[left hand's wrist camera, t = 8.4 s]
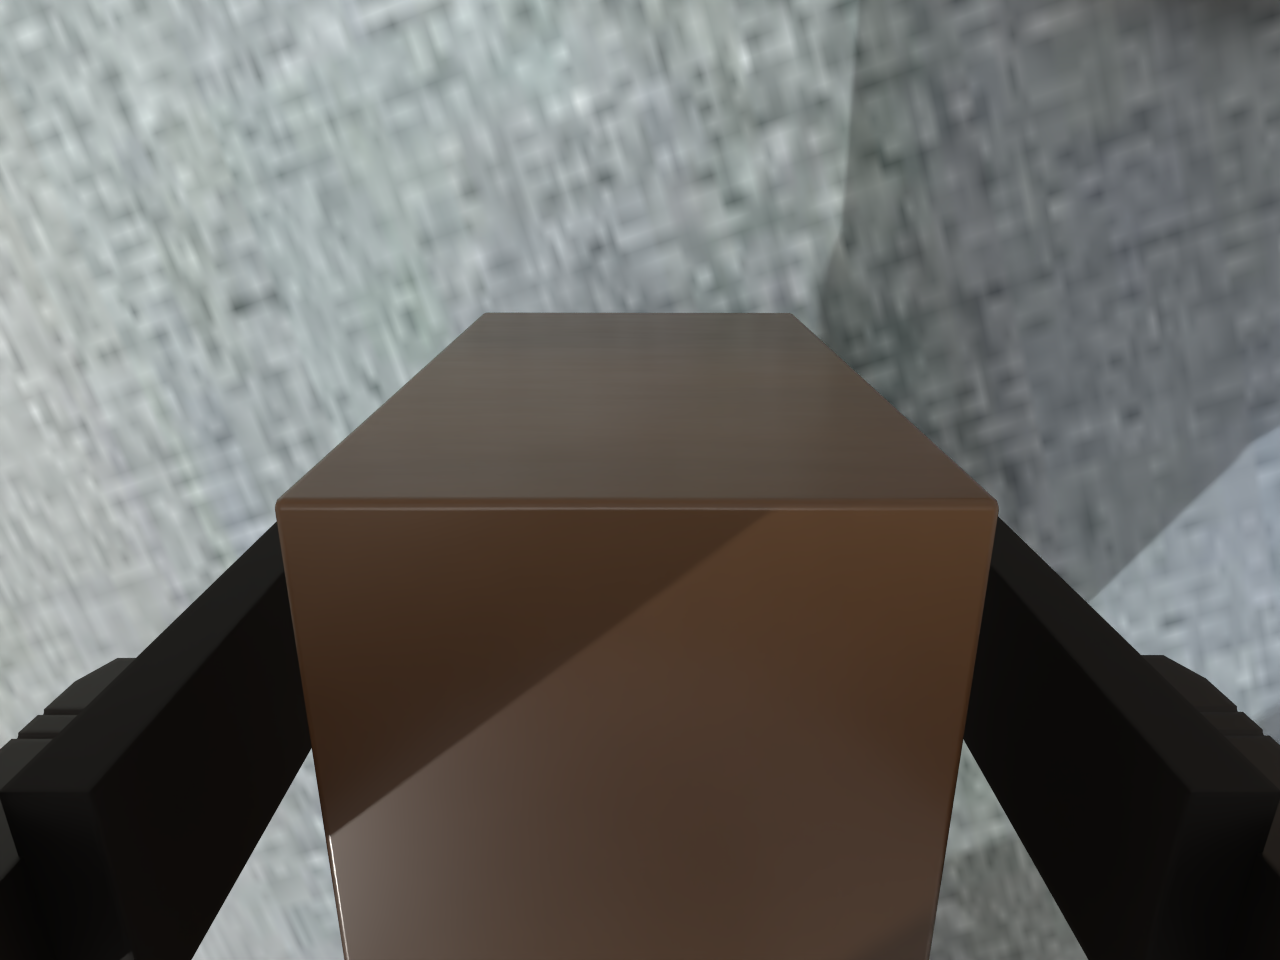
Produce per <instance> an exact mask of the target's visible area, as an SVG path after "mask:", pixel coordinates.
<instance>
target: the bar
mask: <svg viewBox="0 0 1280 960" xmlns="http://www.w3.org/2000/svg"><path fill="white" fill-rule="evenodd" d="M998 511H999V507H998V503H997V500H995V499H994V498H993V497H992V496H991V495H990V494H989V493H988V492H987V491H986V490H985V489H983V488H982V487H981V486H980V485H979V484H978V483H977V482H976V481H975V480H974V479H972V478H971V477H970V476H969V475H968V474H967V473H966V472H965V471H964V470H963V469H961V468H960V467H959V466H958V465H957V464H956V463H955V462H954V461H953V460H952V459H951V458H949V457H948V456H947V455H946V454H945V453H944V452H943V451H942V450H941V449H940V448H938V447H937V446H936V445H935V444H934V443H933V442H932V441H931V440H930V439H929V438H928V437H926V436H925V435H924V434H923V433H922V432H921V431H920V430H919V429H918V428H917V427H915V426H914V425H913V424H912V423H911V422H910V421H909V420H908V419H907V418H906V417H905V416H903V415H902V414H901V413H900V412H899V411H898V410H897V409H896V408H895V407H894V406H892V405H891V404H890V403H889V402H888V401H887V400H886V399H885V398H884V397H883V396H881V395H880V394H879V393H878V392H877V391H876V390H875V389H874V388H873V387H872V386H871V385H869V384H868V383H867V382H866V381H865V380H864V379H863V378H862V377H861V376H860V375H858V374H857V373H856V372H855V371H854V370H853V369H852V368H851V367H850V366H849V365H848V364H846V363H845V362H844V361H843V360H842V359H841V358H840V357H839V356H838V355H837V354H835V353H834V352H833V351H832V350H831V349H830V348H829V347H828V346H827V345H826V344H825V343H823V342H822V341H821V340H820V339H819V338H818V337H817V336H816V335H815V334H814V333H812V332H811V331H810V330H809V329H808V328H807V327H806V326H805V325H804V324H803V323H801V322H800V321H799V320H798V319H797V318H796V317H795V316H794V315H793V314H790V313H485V314H483V315H482V316H481V317H480V318H478V319H477V320H476V321H475V322H474V323H473V324H472V325H471V326H470V327H468V328H467V329H466V330H465V331H464V332H463V333H462V334H461V335H460V336H458V337H457V338H456V339H455V340H454V341H453V342H452V343H451V344H450V345H448V346H447V347H446V348H445V349H444V350H443V351H442V352H441V353H440V354H438V355H437V356H436V357H435V358H434V359H433V360H432V361H431V362H430V363H428V364H427V365H426V366H425V367H424V368H423V369H422V370H421V371H420V372H418V373H417V374H416V375H415V376H414V377H413V378H412V379H411V380H410V381H408V382H407V383H406V384H405V385H404V386H403V387H402V388H401V389H400V390H398V391H397V392H396V393H395V394H394V395H393V396H392V397H391V398H390V399H388V400H387V401H386V402H385V403H384V404H383V405H382V406H381V407H380V408H378V409H377V410H376V411H375V412H374V413H373V414H372V415H371V416H370V417H369V418H367V419H366V420H365V421H364V422H363V423H362V424H361V425H360V426H359V427H357V428H356V429H355V430H354V431H353V432H352V433H351V434H350V435H349V436H347V437H346V438H345V439H344V440H343V441H342V442H341V443H340V444H339V445H337V446H336V447H335V448H334V449H333V450H332V451H331V452H330V453H329V454H327V455H326V456H325V457H324V458H323V459H322V460H321V461H320V462H319V463H317V464H316V465H315V466H314V467H313V468H312V469H311V470H310V471H309V472H307V473H306V474H305V475H304V476H303V477H302V478H301V479H300V480H299V481H297V482H296V483H295V484H294V485H293V486H292V487H291V488H290V489H289V490H287V491H286V492H285V493H284V494H283V495H282V496H281V497H280V498H279V499H277V502H276V505H275V512H276V519H277V525H278V532H279V538H280V545H281V551H282V558H283V564H284V571H285V577H286V584H287V590H288V597H289V603H290V610H291V616H292V623H293V629H294V636H295V642H296V649H297V655H298V662H299V668H300V674H301V681H302V687H303V694H304V700H305V707H306V713H307V720H308V726H309V733H310V739H311V746H312V752H313V759H314V765H315V772H316V778H317V785H318V791H319V798H320V804H321V811H322V817H323V824H324V830H325V837H326V843H327V850H328V856H329V863H330V869H331V876H332V882H333V889H334V895H335V902H336V908H337V914H338V921H339V927H340V934H341V940H342V947H343V953H344V960H929V956H930V950H931V943H932V937H933V930H934V924H935V917H936V911H937V905H938V898H939V892H940V885H941V879H942V872H943V866H944V859H945V853H946V847H947V840H948V834H949V827H950V821H951V814H952V808H953V801H954V795H955V788H956V782H957V776H958V769H959V763H960V756H961V750H962V743H963V737H964V730H965V724H966V718H967V711H968V705H969V698H970V692H971V685H972V679H973V672H974V666H975V660H976V653H977V647H978V640H979V634H980V627H981V621H982V614H983V608H984V601H985V595H986V589H987V582H988V576H989V569H990V563H991V556H992V550H993V543H994V537H995V531H996V524H997V518H998Z"/></svg>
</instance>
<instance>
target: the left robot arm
mask: <svg viewBox="0 0 1280 960" xmlns="http://www.w3.org/2000/svg"><path fill="white" fill-rule="evenodd" d="M963 739H964V741H965V743H966V744H967V746H968V748H969V750H970V752H971V753H972V755H973V757H974V759H975V760H976V762H977V764H978V766H979V767H980V769H981V771H982V773H983V774H984V776H985V778H986V780H987V782H988V783H989V785H990V787H991V789H992V790H993V792H994V794H995V796H996V797H997V799H998V801H999V803H1000V804H1001V806H1002V808H1003V810H1004V811H1005V813H1006V815H1007V817H1008V819H1009V820H1010V822H1011V824H1012V826H1013V827H1014V829H1015V831H1016V833H1017V834H1018V836H1019V838H1020V840H1021V841H1022V843H1023V845H1024V847H1025V849H1026V850H1027V852H1028V854H1029V856H1030V857H1031V859H1032V861H1033V863H1034V864H1035V866H1036V868H1037V870H1038V871H1039V873H1040V875H1041V877H1042V878H1043V880H1044V882H1045V884H1046V886H1047V887H1048V889H1049V891H1050V893H1051V894H1052V896H1053V898H1054V900H1055V901H1056V903H1057V905H1058V907H1059V908H1060V910H1061V912H1062V914H1063V916H1064V917H1065V919H1066V921H1067V923H1068V924H1069V926H1070V928H1071V930H1072V931H1073V933H1074V935H1075V937H1076V938H1077V940H1078V942H1079V944H1080V945H1081V947H1082V949H1083V951H1084V953H1085V954H1086V956H1087V958H1088V960H1280V745H1279V744H1278V743H1277V742H1276V741H1275V740H1274V739H1272V738H1271V737H1270V736H1264V735H1263V730H1262V729H1261V728H1260V727H1259V726H1258V725H1257V724H1256V723H1255V722H1254V721H1252V720H1251V719H1250V718H1249V717H1248V716H1247V715H1246V714H1245V713H1244V712H1238V711H1237V706H1236V705H1235V704H1234V703H1232V702H1231V701H1230V700H1229V699H1228V698H1227V697H1226V696H1225V695H1224V694H1223V693H1221V692H1220V691H1219V690H1218V689H1217V688H1216V687H1215V686H1214V685H1213V684H1211V683H1210V682H1209V681H1208V680H1207V679H1206V678H1204V677H1202V676H1200V675H1198V674H1197V673H1195V672H1193V671H1191V670H1189V669H1187V668H1186V667H1184V666H1182V665H1180V664H1178V663H1177V662H1175V661H1173V660H1171V659H1169V658H1167V657H1166V656H1164V655H1140V654H1139V653H1138V652H1137V651H1136V650H1135V649H1134V648H1133V647H1132V646H1131V645H1130V644H1129V643H1128V642H1127V641H1126V640H1125V639H1124V638H1123V637H1122V636H1121V635H1120V634H1119V633H1118V632H1117V631H1116V630H1115V629H1113V628H1112V627H1111V626H1110V625H1109V624H1108V623H1107V622H1106V621H1105V620H1104V619H1103V618H1102V617H1101V616H1100V615H1099V614H1098V613H1097V612H1096V611H1095V610H1094V609H1093V608H1092V607H1091V606H1090V605H1089V604H1088V603H1087V602H1086V601H1085V600H1084V599H1083V598H1082V597H1081V596H1080V595H1078V594H1077V593H1076V592H1075V591H1074V590H1073V589H1072V588H1071V587H1070V586H1069V585H1068V584H1067V583H1066V582H1065V581H1064V580H1063V579H1062V578H1061V577H1060V576H1059V575H1058V574H1057V573H1056V572H1055V571H1054V570H1053V569H1052V568H1051V567H1050V566H1049V565H1048V564H1047V563H1046V562H1044V561H1043V560H1042V559H1041V558H1040V557H1039V556H1038V555H1037V554H1036V553H1035V552H1034V551H1033V550H1032V549H1031V548H1030V547H1029V546H1028V545H1027V544H1026V543H1025V542H1024V541H1023V540H1022V539H1021V538H1020V537H1019V536H1018V535H1017V534H1016V533H1015V532H1014V531H1013V530H1012V529H1010V528H1009V527H1008V526H1007V525H1006V524H1005V523H1004V522H1003V521H1002V520H1001V519H1000V518H999V517H998V518H997V524H996V531H995V537H994V543H993V550H992V556H991V563H990V569H989V576H988V582H987V589H986V595H985V601H984V608H983V614H982V621H981V627H980V634H979V640H978V647H977V653H976V660H975V666H974V672H973V679H972V685H971V692H970V698H969V705H968V711H967V718H966V724H965V730H964V737H963ZM311 748H312V746H311V739H310V733H309V726H308V720H307V713H306V707H305V700H304V694H303V687H302V681H301V674H300V668H299V662H298V655H297V649H296V642H295V636H294V629H293V623H292V616H291V610H290V603H289V597H288V590H287V584H286V577H285V571H284V564H283V558H282V551H281V545H280V538H279V532H278V525H277V522H276V523H275V524H274V525H273V526H272V527H271V528H269V529H268V530H267V531H266V532H265V533H264V534H263V535H262V536H261V537H260V538H259V539H258V540H257V541H256V542H255V543H254V544H253V545H252V546H251V547H250V548H249V549H248V550H247V551H246V552H245V553H244V554H243V555H242V556H241V557H240V558H239V559H238V560H237V561H236V562H234V563H233V564H232V565H231V566H230V567H229V568H228V569H227V570H226V571H225V572H224V573H223V574H222V575H221V576H220V577H219V578H218V579H217V580H216V581H215V582H214V583H213V584H212V585H211V586H210V587H209V588H208V589H207V590H206V591H205V592H204V593H203V594H202V595H200V596H199V597H198V598H197V599H196V600H195V601H194V602H193V603H192V604H191V605H190V606H189V607H188V608H187V609H186V610H185V611H184V612H183V613H182V614H181V615H180V616H179V617H178V618H177V619H176V620H175V621H174V622H173V623H172V624H171V625H170V626H169V627H168V628H166V629H165V630H164V631H163V632H162V633H161V634H160V635H159V636H158V637H157V638H156V639H155V640H154V641H153V642H152V643H151V644H150V645H149V646H148V647H147V648H146V649H145V650H144V651H143V652H142V653H141V654H140V655H139V656H138V657H137V658H117V659H115V660H113V661H111V662H109V663H108V664H106V665H104V666H102V667H100V668H99V669H97V670H95V671H93V672H91V673H90V674H88V675H86V676H84V677H82V678H81V679H79V680H77V681H75V682H74V683H73V684H72V685H71V686H69V687H68V688H67V689H66V690H65V691H64V692H63V693H62V694H61V695H60V696H58V697H57V698H56V699H55V700H54V701H53V702H52V703H51V704H50V705H48V706H47V707H46V708H45V709H44V714H43V715H37V716H36V717H35V718H34V719H33V720H32V721H31V722H30V723H29V724H28V725H26V726H25V727H24V728H23V729H22V730H21V731H20V732H19V733H18V738H17V739H11V740H10V741H9V742H8V743H7V744H6V745H4V746H3V747H2V748H1V749H0V960H192V958H193V956H194V954H195V953H196V951H197V949H198V947H199V945H200V944H201V942H202V940H203V938H204V937H205V935H206V933H207V931H208V930H209V928H210V926H211V924H212V923H213V921H214V919H215V917H216V915H217V914H218V912H219V910H220V908H221V907H222V905H223V903H224V901H225V900H226V898H227V896H228V894H229V893H230V891H231V889H232V887H233V886H234V884H235V882H236V880H237V878H238V877H239V875H240V873H241V871H242V870H243V868H244V866H245V864H246V863H247V861H248V859H249V857H250V856H251V854H252V852H253V850H254V848H255V847H256V845H257V843H258V841H259V840H260V838H261V836H262V834H263V833H264V831H265V829H266V827H267V826H268V824H269V822H270V820H271V819H272V817H273V815H274V813H275V811H276V810H277V808H278V806H279V804H280V803H281V801H282V799H283V797H284V796H285V794H286V792H287V790H288V789H289V787H290V785H291V783H292V781H293V780H294V778H295V776H296V774H297V773H298V771H299V769H300V767H301V766H302V764H303V762H304V760H305V759H306V757H307V755H308V753H309V752H310V750H311Z"/></svg>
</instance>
